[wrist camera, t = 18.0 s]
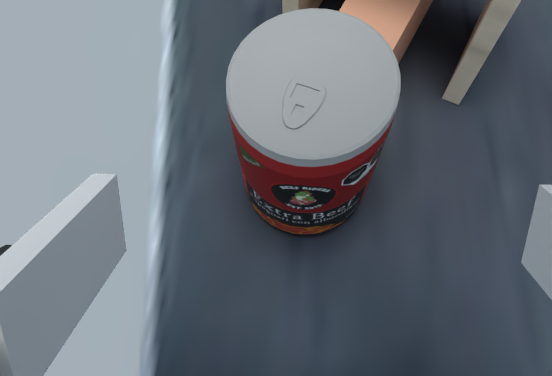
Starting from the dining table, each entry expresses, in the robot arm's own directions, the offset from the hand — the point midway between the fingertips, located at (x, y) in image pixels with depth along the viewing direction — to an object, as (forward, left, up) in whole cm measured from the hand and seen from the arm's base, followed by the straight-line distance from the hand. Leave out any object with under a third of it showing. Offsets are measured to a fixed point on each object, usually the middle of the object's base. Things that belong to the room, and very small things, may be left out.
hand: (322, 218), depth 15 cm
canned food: (+4, -6, -14) cm, 16 cm away
